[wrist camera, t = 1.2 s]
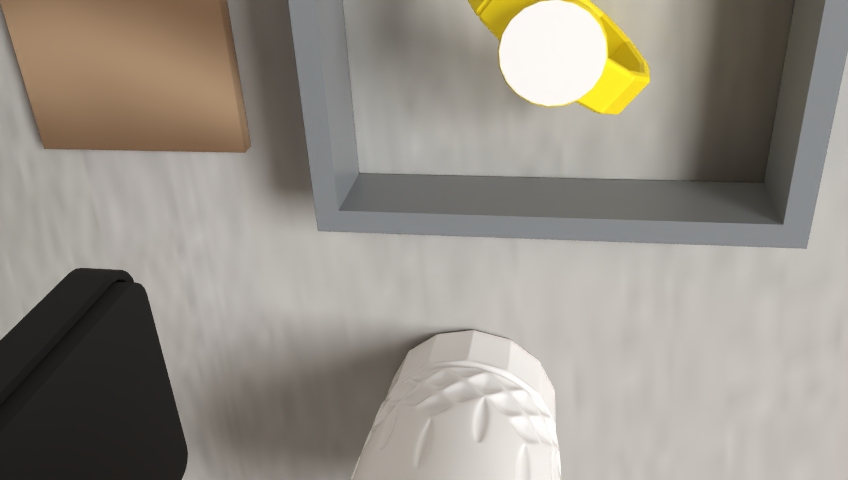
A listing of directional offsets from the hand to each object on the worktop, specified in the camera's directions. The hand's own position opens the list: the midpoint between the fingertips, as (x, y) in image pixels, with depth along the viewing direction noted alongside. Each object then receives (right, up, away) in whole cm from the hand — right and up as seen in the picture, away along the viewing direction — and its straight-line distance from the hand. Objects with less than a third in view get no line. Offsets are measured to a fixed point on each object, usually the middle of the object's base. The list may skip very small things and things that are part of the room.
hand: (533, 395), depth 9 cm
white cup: (+1, -5, +25) cm, 25 cm away
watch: (+3, +9, +16) cm, 19 cm away
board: (-12, +11, +18) cm, 24 cm away
